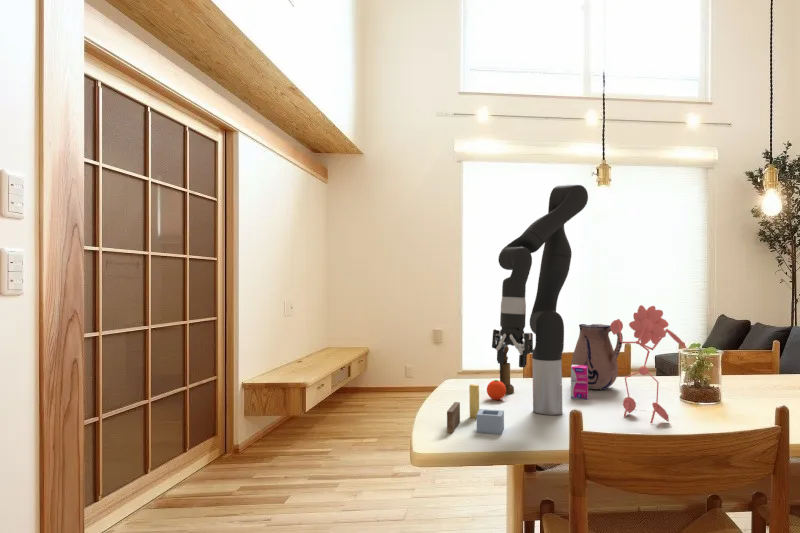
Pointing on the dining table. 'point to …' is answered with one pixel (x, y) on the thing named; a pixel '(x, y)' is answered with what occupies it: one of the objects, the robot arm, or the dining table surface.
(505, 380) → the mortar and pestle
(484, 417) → the socket block
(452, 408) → the wall
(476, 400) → the dowel
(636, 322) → the figurine
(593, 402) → the dining table surface
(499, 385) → the clementine
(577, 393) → the supplement box
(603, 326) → the ceramic pitcher
